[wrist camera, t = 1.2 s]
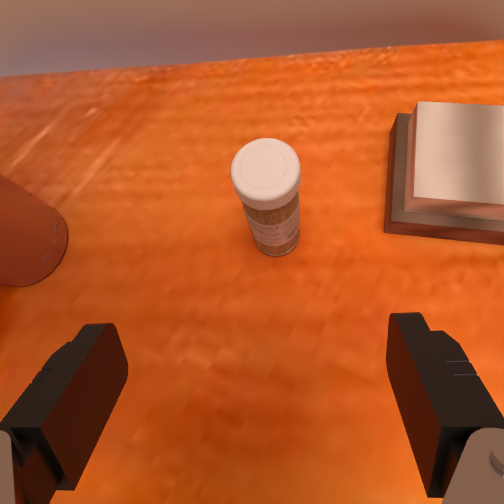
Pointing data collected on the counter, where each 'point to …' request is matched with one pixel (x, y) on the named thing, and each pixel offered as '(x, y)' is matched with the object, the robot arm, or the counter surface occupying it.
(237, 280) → the counter surface
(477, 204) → the stand
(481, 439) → the robot arm
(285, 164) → the sprinkles bottle
